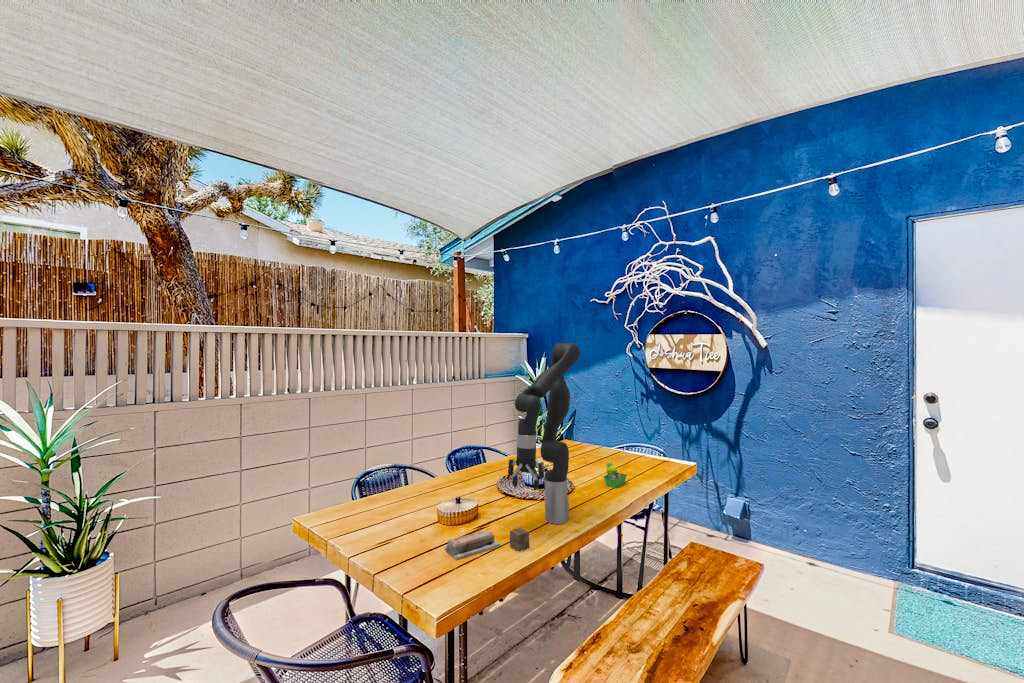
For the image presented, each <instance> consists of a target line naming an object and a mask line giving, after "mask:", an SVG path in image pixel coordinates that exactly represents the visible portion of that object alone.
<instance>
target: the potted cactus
mask: <svg viewBox="0 0 1024 683" xmlns="http://www.w3.org/2000/svg"><path fill="white" fill-rule="evenodd" d="M606 473H607V474H606V475H603V479H604V482H605V486H606V487H609V488H612V487H613V489H616V488H619V487H621V486H623V485H625V483H626V479H627V477H628V476H627V474H625V473H621V472H618V467H616V466H615V465H614V464H613V463H612V462H607V464H606Z"/></svg>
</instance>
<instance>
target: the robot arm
mask: <svg viewBox="0 0 1024 683" xmlns="http://www.w3.org/2000/svg"><path fill="white" fill-rule="evenodd" d="M580 356H581V350H580V347H579V346H578V345H577V344H576V343H571V342H570V343H569V342H568V343H566V342H565V343H564V342H563V343H562V342H560V343H556V344H554V346H553V347H552V350H551V358H550V359H551V361H550V362H551V365H550V367H549V368H547V369H545V370H543V371H542V372H541V373H540V374H539V375H538V376H537V377H536V378H535V380H534V381H533V383H532V384H530V386H528V387H526V388H525V389H524V390H523V391H521V392H520V393H518V395H517V396H516V398H515V400H514V407H515V410H517V411H518V412H520V413H525V418H521V419H519V420H518V424H517V426H518V427H517V440H516V459H515V458H511V459H509V460H508V466H507V467H508V468H507V475H508V476H511V477H512V483H511V484H512V486H513V487H514V488H516V487H518V480H519V478H518V474H520V472H521V473H526V474H530V475H531V476H532V478H533V479H534V480H533V490H534V491H537V490H538V489H539V487H540V480H542V479H543V478H544V520H546V521H547V522H546V521H545V522H546V523H548V522H549V523H548V524H551V523H553V524H552V525H560V524H561V523H563V524H565V523H567V521H568V520H570V516H569V515H570V508H569V506H570V504H569V497H568V494H567V493H568V491H567V490H568V486H567V484H568V482H567V481H568V479H567V478H568V476H567V475H568V473H569V460H570V457H569V456H570V453H569V452H570V450H569V446H568V445H567V443H566V442H563V441H559V440H557V434H558V430H559V428H560V426H561V424H562V422H563V421H564V420H565V418H566V417H567V415H568V414H569V411H570V402H571V393H570V389H569V387H568V384H567V382H566V379H565V375H564V374H566V372H568V371H569V370H570V369H571V368H572V367H573V366H574V365H575V364H576V363H577V362H578V360H579V359H580ZM548 392H549V394H548ZM547 394H548V400H547V411H546V412H547V413H546V418H545V424H544V425H545V426H544V431H543V436H542V440H541V443H540V444H541V445H540V457H541V459H542V460H543V461H544V462H547V463H552V469H549V470H546V471H544V470H545V468H544V462H543V461H542V462H537V458H536V457H537V435H536V434H537V422H538V419H539V415H540V411H541V407H542V404H541V403H542V402H541V400H540V399H541V398H544V397H545V396H546V395H547ZM515 465H516V466H517V467H516V469H515V470H514V467H515ZM536 467H537V469H538V471H537V469H536ZM567 519H568V520H567ZM564 522H565V523H564ZM561 525H562V524H561Z"/></svg>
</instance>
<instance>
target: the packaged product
mask: <svg viewBox="0 0 1024 683" xmlns="http://www.w3.org/2000/svg"><path fill="white" fill-rule="evenodd" d="M500 547H501V543H500V542H499V541H496V540H495V535H494V533H493V532H491V531H488V530H483V531H482V530H481V531H479V532H475V533H472V534H467V535H463V536H458V537H454V538H451V539H449V540H448V543H447V545H446V546H444V550H445V552H447V553H448V554H449V555H450V556H451V557H452V558H453V559H454V560H455V561H459V560H461V559H466V558H468V557H473V556H476V555H478V554H482V553H483V554H484V553H485V552H489V551H493V550H494V549H498V548H500Z"/></svg>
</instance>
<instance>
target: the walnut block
mask: <svg viewBox="0 0 1024 683" xmlns="http://www.w3.org/2000/svg"><path fill="white" fill-rule="evenodd" d="M509 547H510V548H511V547H512V548H511V549H513V550H514V549H515V551H516V550H517V551H520V552H522V551H521V550H523V551H525V550H528V549H530V531H528V530H527V529H526V528H523V527H522V526H520V527H517V528H514V529H511V530H509ZM527 548H528V549H527ZM524 549H525V550H524Z"/></svg>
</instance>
